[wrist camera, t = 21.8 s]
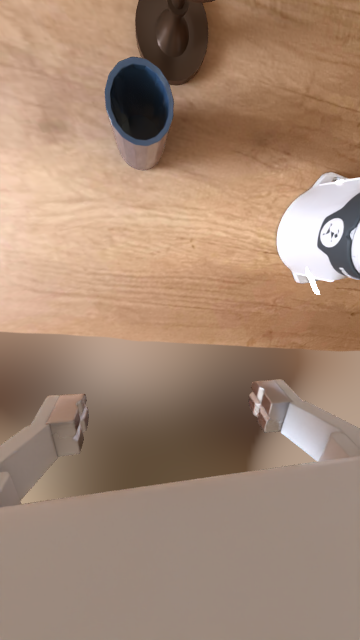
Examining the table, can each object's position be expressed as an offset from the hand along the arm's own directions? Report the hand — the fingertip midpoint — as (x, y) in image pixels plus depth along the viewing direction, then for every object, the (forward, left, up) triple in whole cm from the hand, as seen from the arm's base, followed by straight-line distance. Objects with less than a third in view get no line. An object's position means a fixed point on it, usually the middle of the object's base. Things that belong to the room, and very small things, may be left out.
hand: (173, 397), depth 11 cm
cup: (+1, -19, -31) cm, 36 cm away
